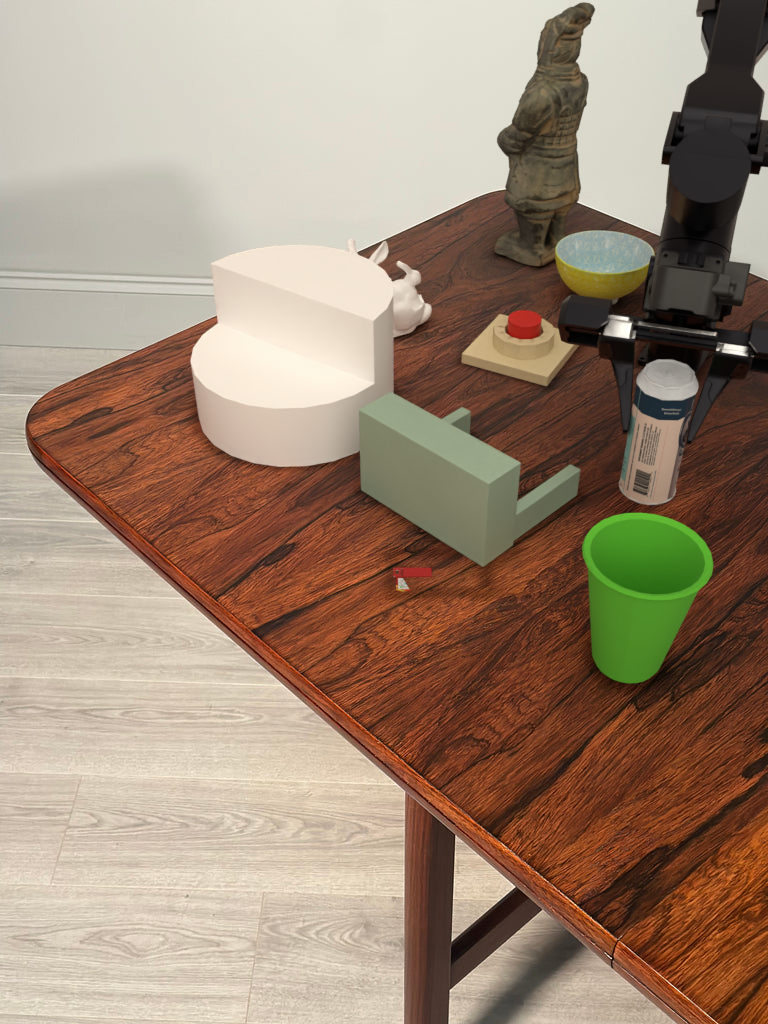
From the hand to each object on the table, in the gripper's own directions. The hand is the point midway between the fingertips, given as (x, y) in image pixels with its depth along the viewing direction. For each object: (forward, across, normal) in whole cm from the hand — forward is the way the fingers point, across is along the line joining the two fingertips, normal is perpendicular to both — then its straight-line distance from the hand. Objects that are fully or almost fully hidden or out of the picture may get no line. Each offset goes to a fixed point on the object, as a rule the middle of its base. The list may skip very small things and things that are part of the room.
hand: (656, 438), depth 84 cm
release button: (-14, -16, +26) cm, 33 cm away
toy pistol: (+14, -15, +2) cm, 21 cm away
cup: (+18, +1, -2) cm, 18 cm away
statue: (-29, -20, +46) cm, 58 cm away
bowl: (-22, -10, +38) cm, 46 cm away
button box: (-12, -16, +28) cm, 34 cm away
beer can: (+4, 0, +6) cm, 7 cm away
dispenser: (+6, -15, +9) cm, 19 cm away
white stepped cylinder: (+1, -36, +15) cm, 39 cm away
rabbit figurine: (-12, -33, +29) cm, 46 cm away
